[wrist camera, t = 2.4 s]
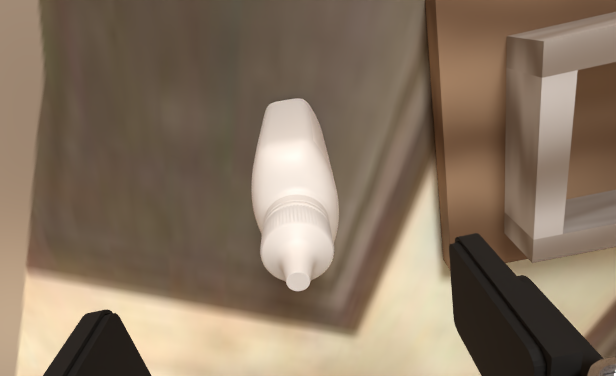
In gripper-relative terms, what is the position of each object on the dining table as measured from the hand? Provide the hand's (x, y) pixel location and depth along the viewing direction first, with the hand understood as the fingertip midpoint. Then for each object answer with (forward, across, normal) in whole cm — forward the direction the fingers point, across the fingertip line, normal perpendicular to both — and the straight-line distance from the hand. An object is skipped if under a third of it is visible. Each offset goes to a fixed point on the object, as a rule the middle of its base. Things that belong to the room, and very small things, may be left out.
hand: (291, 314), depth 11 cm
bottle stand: (+13, -16, +1) cm, 21 cm away
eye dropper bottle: (+13, 0, -1) cm, 13 cm away
